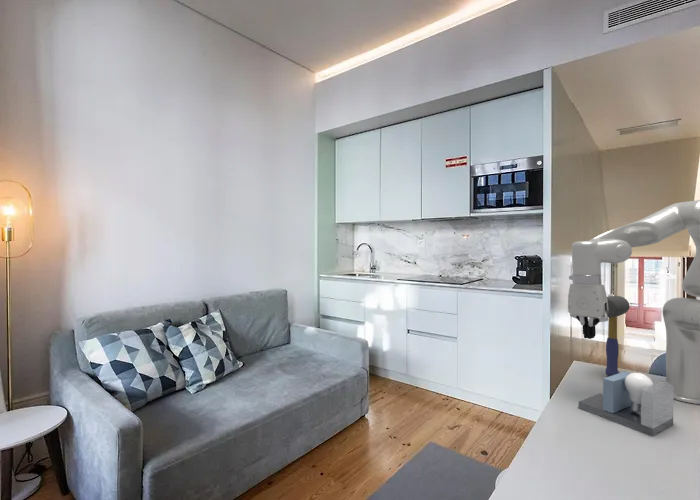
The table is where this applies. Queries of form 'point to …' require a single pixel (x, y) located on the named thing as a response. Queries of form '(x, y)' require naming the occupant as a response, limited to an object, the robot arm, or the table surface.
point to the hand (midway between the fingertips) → (589, 337)
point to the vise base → (620, 415)
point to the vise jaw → (615, 393)
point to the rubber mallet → (614, 332)
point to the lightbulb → (636, 389)
